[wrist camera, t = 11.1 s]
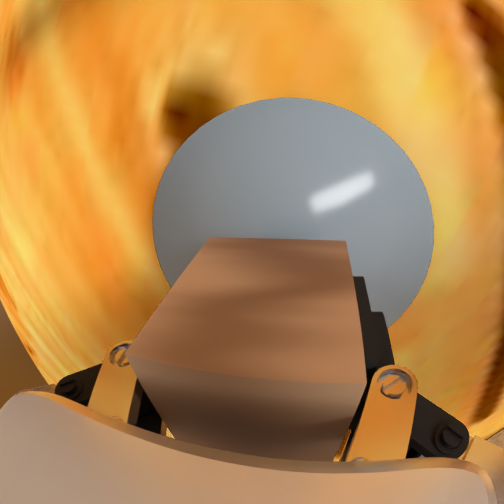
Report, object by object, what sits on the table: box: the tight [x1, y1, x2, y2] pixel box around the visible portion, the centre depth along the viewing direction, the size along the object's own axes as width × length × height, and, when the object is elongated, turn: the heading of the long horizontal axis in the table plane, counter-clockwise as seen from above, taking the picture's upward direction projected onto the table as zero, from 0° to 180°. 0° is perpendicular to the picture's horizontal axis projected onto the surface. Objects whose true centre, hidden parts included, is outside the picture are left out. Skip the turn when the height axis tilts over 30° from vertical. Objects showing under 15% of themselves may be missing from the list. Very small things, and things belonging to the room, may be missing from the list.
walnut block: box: [125, 237, 367, 462], centre depth 9 cm, size 5×5×6 cm
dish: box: [153, 98, 434, 328], centre depth 15 cm, size 15×15×1 cm
